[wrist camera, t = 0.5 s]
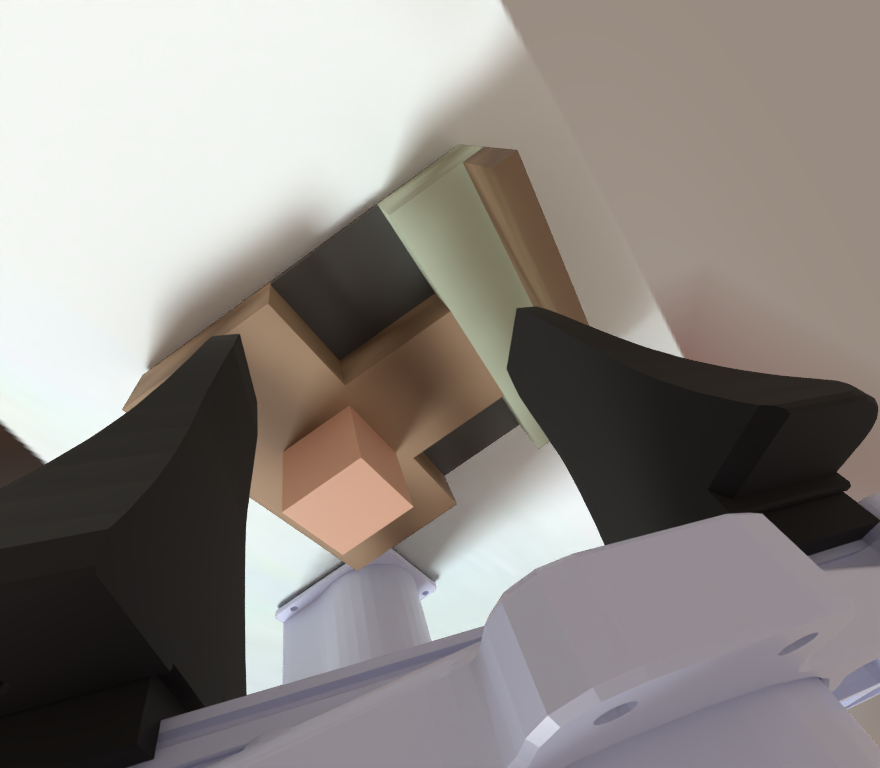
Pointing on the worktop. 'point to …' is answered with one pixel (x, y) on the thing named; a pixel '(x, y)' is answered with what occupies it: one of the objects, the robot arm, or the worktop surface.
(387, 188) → the worktop surface
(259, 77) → the worktop surface
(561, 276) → the board
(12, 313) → the worktop surface
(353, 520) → the block
